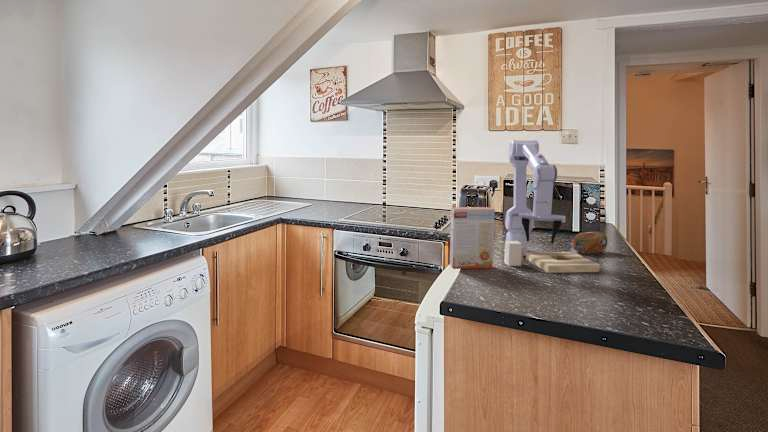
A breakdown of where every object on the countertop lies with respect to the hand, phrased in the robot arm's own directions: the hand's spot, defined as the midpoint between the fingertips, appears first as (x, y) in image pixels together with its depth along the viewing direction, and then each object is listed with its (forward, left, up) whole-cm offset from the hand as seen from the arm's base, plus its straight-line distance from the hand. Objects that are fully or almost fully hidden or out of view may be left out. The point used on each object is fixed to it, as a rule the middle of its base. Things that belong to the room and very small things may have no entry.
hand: (539, 241), depth 141 cm
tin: (-25, +32, -10) cm, 42 cm away
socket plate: (-7, +11, -10) cm, 17 cm away
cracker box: (-6, -22, -10) cm, 25 cm away
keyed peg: (-9, -6, -10) cm, 14 cm away
